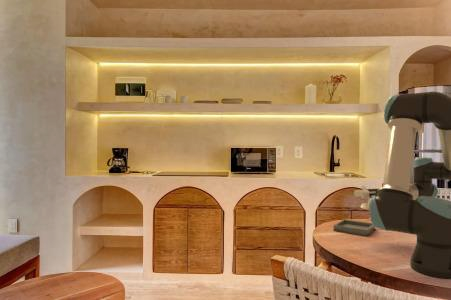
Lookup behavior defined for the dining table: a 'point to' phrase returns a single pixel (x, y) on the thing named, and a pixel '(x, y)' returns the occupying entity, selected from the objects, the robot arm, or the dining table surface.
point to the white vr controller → (366, 205)
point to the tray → (354, 227)
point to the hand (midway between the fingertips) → (358, 194)
